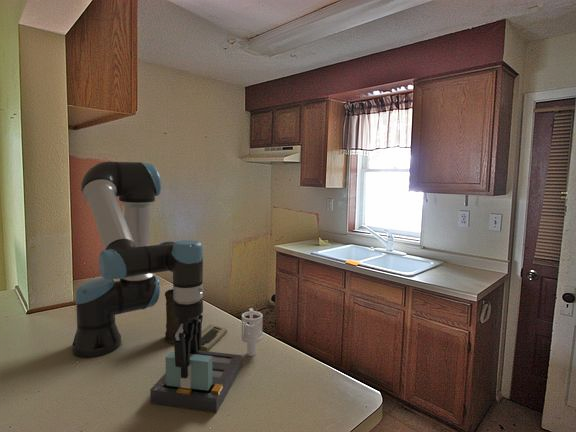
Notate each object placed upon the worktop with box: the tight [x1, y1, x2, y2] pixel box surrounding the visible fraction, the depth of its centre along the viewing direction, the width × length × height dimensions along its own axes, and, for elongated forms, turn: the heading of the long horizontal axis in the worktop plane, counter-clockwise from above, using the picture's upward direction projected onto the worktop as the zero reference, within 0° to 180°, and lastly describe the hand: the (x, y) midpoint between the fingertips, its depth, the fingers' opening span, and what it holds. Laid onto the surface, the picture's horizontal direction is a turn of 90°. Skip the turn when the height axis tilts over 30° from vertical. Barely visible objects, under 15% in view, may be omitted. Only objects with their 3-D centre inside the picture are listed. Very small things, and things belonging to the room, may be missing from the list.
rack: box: [149, 350, 243, 414], centre depth 102 cm, size 18×22×5 cm
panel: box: [165, 351, 212, 391], centre depth 94 cm, size 12×3×8 cm, turn 80°
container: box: [164, 288, 179, 345], centre depth 129 cm, size 9×9×18 cm
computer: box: [200, 324, 228, 351], centre depth 129 cm, size 16×8×3 cm, turn 164°
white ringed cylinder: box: [241, 307, 264, 357], centre depth 120 cm, size 7×7×15 cm
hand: (189, 383), depth 94 cm, fingers closed on panel, 3 cm apart
